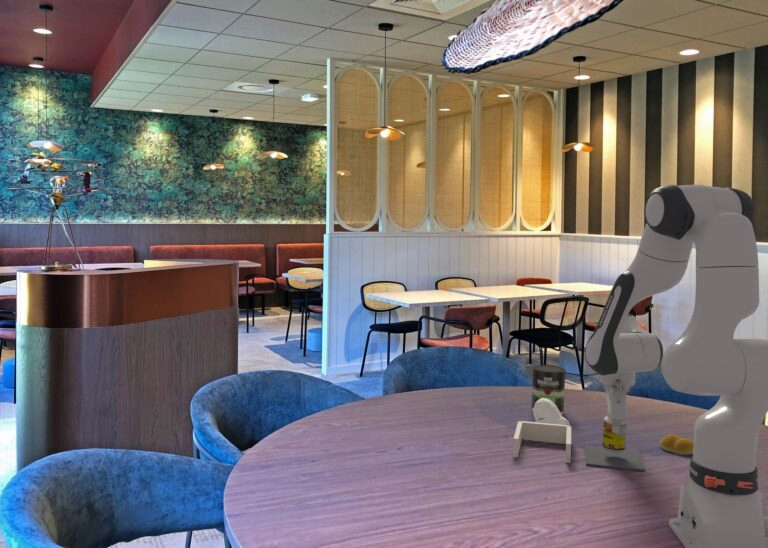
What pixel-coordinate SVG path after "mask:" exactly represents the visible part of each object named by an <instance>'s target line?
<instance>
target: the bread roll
mask: <svg viewBox="0 0 768 548" xmlns="http://www.w3.org/2000/svg"><path fill="white" fill-rule="evenodd" d="M659 447H660V448H661V449H663V451H667V452H668V453H674V454H676V455H680V456H691V455H692V456H693V447H694V440H693V439H690V438H686V437H681V436H679V435H678V434H675V433H669V434H667V435H665V436H664V437H662V438H661V439H660V441H659Z"/></svg>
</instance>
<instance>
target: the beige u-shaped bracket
mask: <svg viewBox="0 0 768 548" xmlns="http://www.w3.org/2000/svg"><path fill="white" fill-rule="evenodd" d="M522 439H523V440H522ZM529 440H531V441H530V442H539V441H540V442H542V443H549V442H550V443H552V444H560V445H561V444H562V445H565V464H566V463H567V464H571V459H572V458H571V456H572V455H571V454H572V453H571V452H572V425H559V424H548V423H537V422H536V421H525V420H524V421H523V420H518V421H517V424H516V428H515V432H514V436H513V446H512V447H513V451H512V457H513V458H519V453H520V450H521V447H522V446H521V445H522V441H529ZM540 442H539V443H540Z"/></svg>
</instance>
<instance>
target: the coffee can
mask: <svg viewBox="0 0 768 548" xmlns="http://www.w3.org/2000/svg"><path fill="white" fill-rule="evenodd" d="M566 371H567V370H566V369H565V368H564V367H561V366H558V365H549V364H539V365H534V366H532V388H531V389H532V390H531V391H532V395H531V412H533V408H534V405H535V403H536V402H537V401H538V400H540V399H541V398H547V399H549V400H551V401H552V402H553V403H554V404H555V405H556V406H557V408H558V410H559V411H560V413H561V414H562V415H563V414H564V413H565V410H564V409H565V386H566V385H565V383H566Z"/></svg>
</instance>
